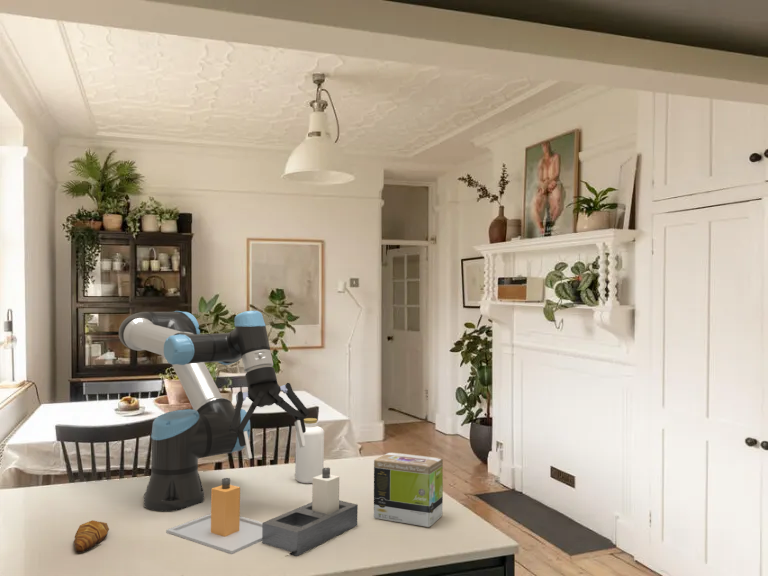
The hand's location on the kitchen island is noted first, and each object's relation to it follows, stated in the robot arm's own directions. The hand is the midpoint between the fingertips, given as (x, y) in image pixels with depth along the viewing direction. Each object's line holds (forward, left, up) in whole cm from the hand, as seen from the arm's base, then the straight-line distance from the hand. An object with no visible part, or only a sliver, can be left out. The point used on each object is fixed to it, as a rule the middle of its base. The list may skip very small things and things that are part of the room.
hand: (276, 452), depth 158 cm
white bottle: (-14, +30, -16) cm, 36 cm away
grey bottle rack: (+14, -3, -16) cm, 22 cm away
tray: (-2, -14, -16) cm, 22 cm away
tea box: (+26, +20, -16) cm, 37 cm away
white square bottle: (+14, +2, -14) cm, 20 cm away
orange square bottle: (-2, -14, -15) cm, 21 cm away
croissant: (-23, -34, -16) cm, 44 cm away
